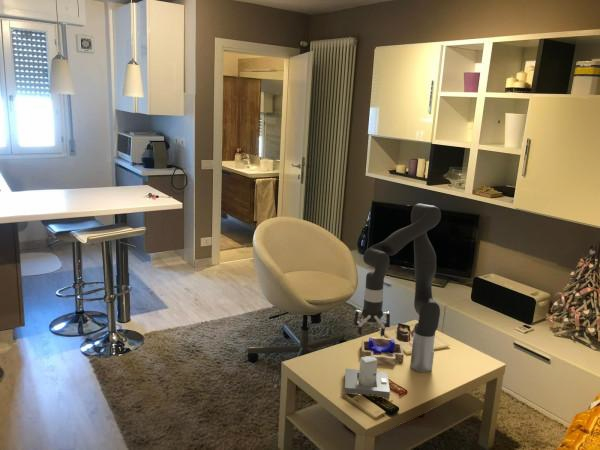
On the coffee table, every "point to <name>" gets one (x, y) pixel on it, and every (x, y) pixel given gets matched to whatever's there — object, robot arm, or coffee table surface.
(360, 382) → the skincare box
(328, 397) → the coffee table surface
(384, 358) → the tray
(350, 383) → the socket plate
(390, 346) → the cable clip
